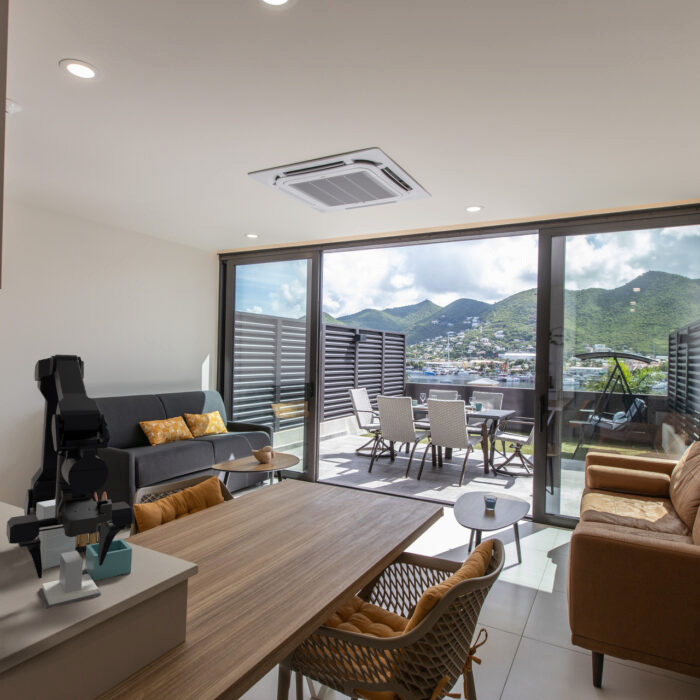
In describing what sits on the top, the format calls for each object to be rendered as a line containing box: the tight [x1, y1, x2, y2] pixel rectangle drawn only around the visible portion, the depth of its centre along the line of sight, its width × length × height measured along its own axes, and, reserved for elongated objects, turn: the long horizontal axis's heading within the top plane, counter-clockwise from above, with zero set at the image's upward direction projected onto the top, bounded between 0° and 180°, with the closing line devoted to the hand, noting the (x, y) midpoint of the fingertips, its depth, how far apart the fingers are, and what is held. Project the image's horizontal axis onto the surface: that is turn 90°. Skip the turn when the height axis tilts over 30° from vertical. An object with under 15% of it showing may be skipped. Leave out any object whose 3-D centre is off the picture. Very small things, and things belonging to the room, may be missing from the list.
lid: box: [41, 551, 99, 605], centre depth 86 cm, size 7×7×6 cm
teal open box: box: [84, 538, 133, 582], centre depth 95 cm, size 6×6×4 cm
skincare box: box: [36, 499, 76, 571], centre depth 98 cm, size 6×4×12 cm
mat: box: [38, 587, 102, 609], centre depth 86 cm, size 8×8×1 cm
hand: (70, 571), depth 86 cm, fingers open, 9 cm apart
